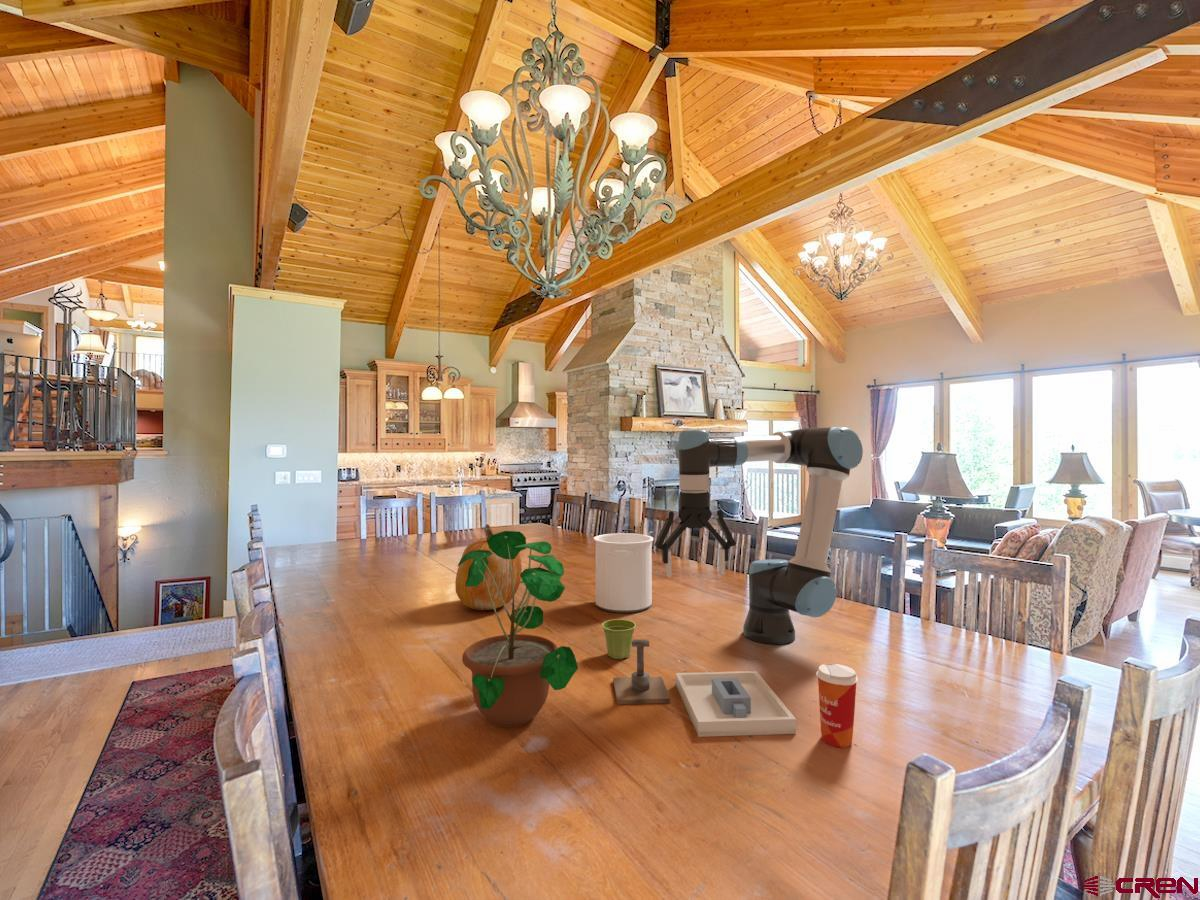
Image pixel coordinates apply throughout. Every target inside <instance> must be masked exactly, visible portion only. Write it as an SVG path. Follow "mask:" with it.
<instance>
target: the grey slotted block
mask: <svg viewBox="0 0 1200 900" xmlns="http://www.w3.org/2000/svg"><path fill="white" fill-rule="evenodd" d="M712 694H713V696H714V698H715V700H716V701H717V703H718V705H719V706H720V708H721V710H722V712H723V713H724V714H733V716H734V718H747V714H751V697H750V696H749V695H748V693H747V692H746V690H745V689H744V688H743V686H742V685H741V683H740V682H739V681H738V679H737V678H712Z"/></svg>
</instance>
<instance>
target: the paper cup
mask: <svg viewBox="0 0 1200 900" xmlns="http://www.w3.org/2000/svg"><path fill="white" fill-rule="evenodd" d="M815 674H816V677H817V686H818V700H819V703H818V704H819V720H820V734H821V740H822V741H823V742H824V743H825V744H827V745H829V746H831V747H834V748H839V749H842V748H844V749H845V748H849V747H851V746H852V743H853V739H854V738H853V737H854V736H853V735H854V722H855V710H856V709H855V707H856V696H857V695H856V693H857V683H858V682H859V678H858V676H857V672H856V671H855V670H854V669H853V668H851V667H850V666H846V665H843V664H838V663H834V664H833V663H827V664H823V663H822V664H821V665H819V667H818V669H817V671H816V672H815Z"/></svg>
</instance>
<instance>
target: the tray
mask: <svg viewBox="0 0 1200 900" xmlns="http://www.w3.org/2000/svg"><path fill="white" fill-rule="evenodd" d="M712 678H737V679H738V681H739V682H740V683H741V685H742V686H743V688H744V689H745V690H746V692H747V693H748V695H749V696H750V697H751V714H747V718H734V716H733V714H724V713H723V712H722V710H721V708H720V706H719V705H718V703H717V701H716V700H715V698H714V696H713V694H712ZM675 687H676V689H677V691H678V694H679V696H680V698H681V700H682V703H683V705H684V708H685V709H686V712H687V714H688V716H689V719H690V721H691V723H692V725H693V727H694V731H695V732H696V734H697V737H698V738H701V737H703V738H704V737H706V738H707V737H732V736H733V737H736V736H737V737H739V736H764V735H792V734H793V735H795V734H797V718H796V717H795V716H794V715H793V713H792V712H791V711H790V710H789V708H787V706H786V705H785V703H783V701H782V700H781V699H780V697H779V696H778V695H777V694H776V693H775V692H774V690H773V689H772V688H771V686H769V684H768V683H767V682H766V681H765V680H764V678H763V677H762V675H760V673H759V672H758V671H757V670H755V671H754V670H750V671H745V670H744V671H710V672H709V671H708V672H700V671H699V672H675Z"/></svg>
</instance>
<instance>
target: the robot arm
mask: <svg viewBox="0 0 1200 900" xmlns="http://www.w3.org/2000/svg"><path fill="white" fill-rule="evenodd" d="M674 451H675V456H676V458H677V460H678V473H679V477H678V478H679V479H678V480H679V482H678V483H679V484H678V485H679V488H678V489H679V490H680V492H679V494H678V495H679V509H678V511H672V510H670V509H669V510H667V512H666V519H665V521H664V523H663V526H662V528H661V530H660V532H659V534H658V536H657V538H656V540H655V543H654V547H655V548H656V549H659V550H661V559H662V563H663V564H664V565H665V567H666V568H665V569H666V570H665V571H666V576H667V578H673V577H672V575H673V573H672V571H673V570H672V569H673V568H672V550H670V548H671V547H672V545H674V543H675V542H676V541H677V539H678V538H679V537H680V536H681V534H683V532H684V531H685V530H686V529H690V530H691V529H703V528H705V529H706V530H707V532H709V533H710V534H711V536H712V537H713V538H714V539H715V540H716V541H717V543H718V544H719V545H720V546H721V547H718V550H717V551H718V574H719V575H721V576H725V575H726V564H725V563H726V562H728V561H729V550H730V549H731V547H735V546H736V541H735V539H734V537H733V535H732V533H731V531H730V529H729V526H727V523H726V521H725V520H724V513H723V510H721V509H719V508H716V509H715V510H711V507H710V506H711V503H710V502H711V501H710V499H711V498H710V497H711V496H710V492H709V490H710V487H711V486H710V485H711V484H710V467H711V468H712V467H736V466H741V465H743V464H745V463H746V462H768V461H770V462H771V461H772V462H774V463H776V464H790V465H797V466H804V467H806V471H807V472H808V474H809V475H810V477H809V483H808V489H807V494H806V498H805V504H804V509H803V514H802V520H801V524H800V529H799V533H798V534H799V535H798V540H797V544H796V545H797V546H796V550H795V554H794V557H792V558H791V559H789V560H787V559H780V558H779V559H776V558H772V559H769V558H767V559H759V560H754V561H752V562H750V564H749V571H748V595H749V596H748V601H749V602H748V603H749V604H748V605H749V606H748V610H747V611H748V612H747V615H746V617H745V620H744V623H743V628H742V632H743V633H742V634H743V636H744V637H746V639H749V640H751V641H754V642H756V643H761V644H768V645H784V644H788V643H792V642H794V641H795V640H796V630H795V629H796V628H795V627H794V623H793V620H792V617H791V614H790V611H793V612H795V613H799V614H800V615H801V616H807V617H811V618H820V617H822V616H825V615H826V614H827V613H828V612H829V611H830V610H831V609H832V608H833V606H834V604H835V602H836V599H837V595H838V592H837V591H838V590H837V587H836V583H835V582H834V580H833V579H832V578H831V573H832V570H831V569H830V568H829V566H828V564H827V563H828V557H829V554H830V548H831V547H830V546H831V544H832V543H831V541H832V536H833V531H834V525H835V522H836V516H837V515H836V514H837V510H838V505H839V500H840V496H841V495H840V494H841V489H842V485H843V481H845V480H847V479H848V478H849V477H850V473H851V470H852V469H854V468H857V467H858V466H859V465H860V464H861V462H862V459H863V453H864V452H863V451H864V449H863V444H862V441H861V439H860V438H859V435H858V434H857V433H856V432H855V431H854V430H853V429H851V428H849V427H839V426H831V427H807V428H799V429H793V430H788V431H776V432H773V433H772V434H771V435H745V436H742V435H741V436H740V435H739V436H710V434H709V431H708V430H706V429H686V430H685V429H683V430H682V431H680V432H679V435H678V441H677V444H676V445H675V450H674ZM711 517H713V518H714V519H716V522H717V524H718V526H719V527H720V530H721V533H723V535H724V538H725V539H726V541H725V539H724V538H723V537H722V536H721V535H720V533H718V531H717V530H716V529H715V528H714V527H713V525H712V524H711V523H710V521H709V520H710V519H711ZM677 518H679V519H680V522H679V523H678V524H677V526H676V528H675V529H674V530H673V531H672V532H671V533H670V535H669V536H668V538H667V535H668V534H669V531H670V529H671V527H672V525H673V522H674V521H676V520H677ZM666 538H667V539H666Z"/></svg>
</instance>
